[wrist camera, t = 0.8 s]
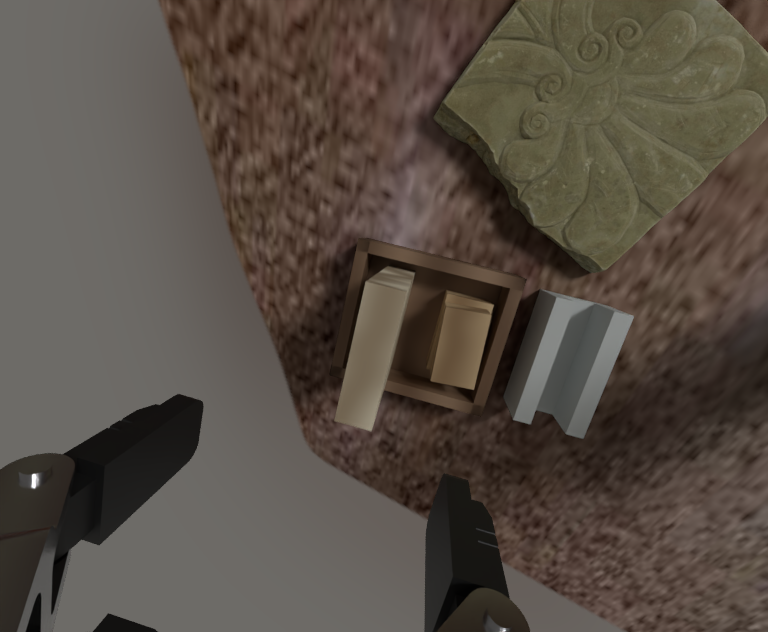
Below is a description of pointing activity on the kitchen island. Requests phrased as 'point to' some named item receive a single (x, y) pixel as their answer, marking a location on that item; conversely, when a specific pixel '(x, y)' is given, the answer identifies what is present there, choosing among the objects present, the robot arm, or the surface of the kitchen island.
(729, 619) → the kitchen island surface
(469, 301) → the oak offcut lower
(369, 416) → the birch sheet
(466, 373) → the oak offcut upper
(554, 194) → the decorative tile
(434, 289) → the wooden tray
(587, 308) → the slot stand
